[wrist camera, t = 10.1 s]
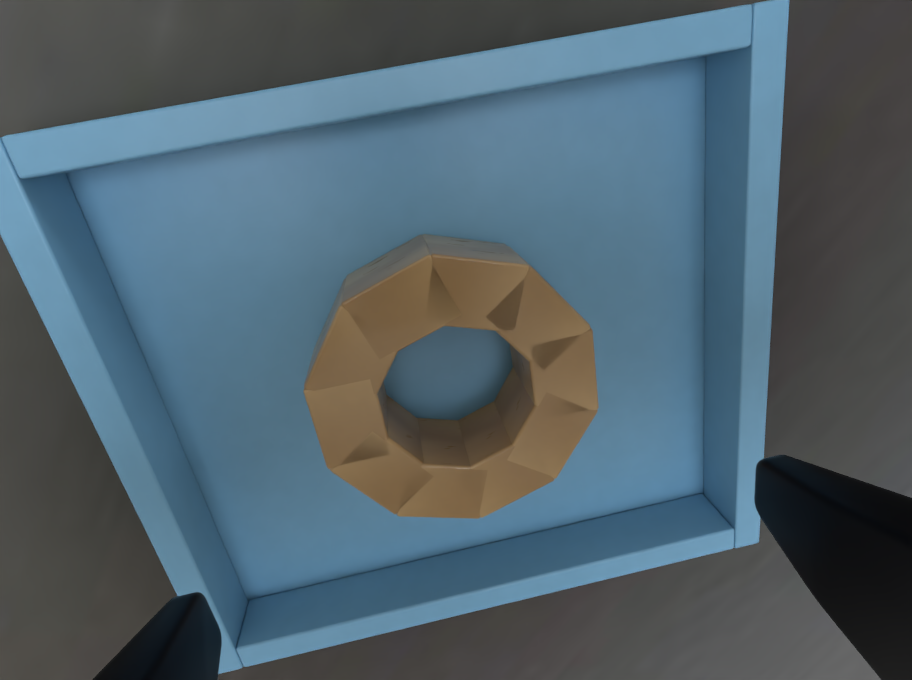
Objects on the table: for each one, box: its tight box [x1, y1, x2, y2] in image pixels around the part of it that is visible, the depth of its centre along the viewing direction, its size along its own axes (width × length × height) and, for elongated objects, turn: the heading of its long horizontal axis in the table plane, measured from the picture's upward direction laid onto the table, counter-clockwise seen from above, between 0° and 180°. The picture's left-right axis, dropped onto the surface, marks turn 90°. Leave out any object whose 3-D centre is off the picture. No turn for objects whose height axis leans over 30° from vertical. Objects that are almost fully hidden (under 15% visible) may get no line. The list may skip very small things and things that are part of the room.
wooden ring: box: [303, 234, 599, 519], centre depth 14 cm, size 7×7×2 cm
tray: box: [0, 0, 789, 674], centre depth 15 cm, size 17×15×2 cm
